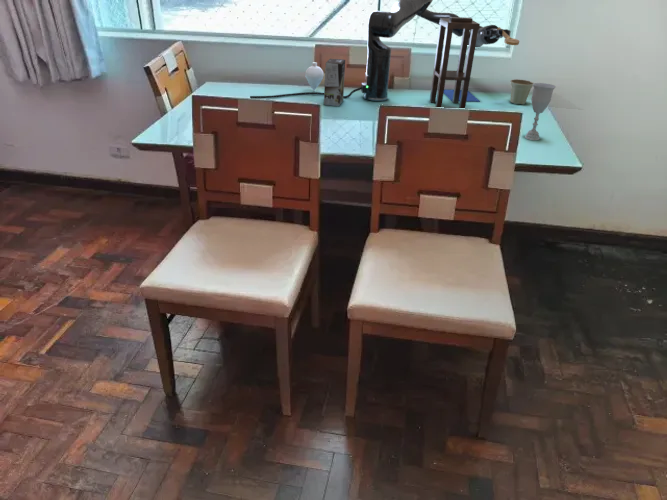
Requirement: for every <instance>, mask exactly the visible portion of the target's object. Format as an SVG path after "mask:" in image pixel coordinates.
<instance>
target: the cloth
mask: <svg viewBox="0 0 667 500" xmlns="http://www.w3.org/2000/svg"><path fill="white" fill-rule="evenodd" d="M461 91H462V89H460V95H459V101H458V102H460V97H461ZM453 94H454V89H444V94H443V95H445V96H446V97H447V98H448V99H449V100H450V101H451V102H452V100H453ZM467 102H470V103H471V102H473V103H480V100H479V98H477V97H476V96H475V95H474V94H473V93H471V92H470V91H469V90H468V94H467V100H466V103H467Z"/></svg>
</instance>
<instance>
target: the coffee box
mask: <svg viewBox="0 0 667 500" xmlns="http://www.w3.org/2000/svg"><path fill="white" fill-rule="evenodd" d="M345 74H346V59H343V58H342V59H341V58H329V59H328V60H327V61H325V68H324V90H323V93H324V95H323V105H324V106H332V107H340V105H341V104H342V103H343V102H344V98H343V96H345V95H344V93H345Z"/></svg>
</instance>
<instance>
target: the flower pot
mask: <svg viewBox="0 0 667 500" xmlns="http://www.w3.org/2000/svg"><path fill="white" fill-rule="evenodd" d="M534 83H535V82H533V81H530V80H526V79H520V78H516V79H511V80H510V86H511V88H510V98H509V102H510V103H511V104H515V105H525V104H526V103H527V100H528V98H529V95H530V92H531V90H532V88H533V84H534Z"/></svg>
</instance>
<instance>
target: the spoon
mask: <svg viewBox="0 0 667 500" xmlns="http://www.w3.org/2000/svg"><path fill="white" fill-rule="evenodd" d="M497 29H498V30H499V29H502V27H500V26H498V28H497ZM502 36H503V37H502V38H504V44H506V45H509V46H518V45H519V44H520V40H518V39H517V38H512V37H511V35H510V36H509V35H508V34H506V33H505V32H504V31H503V32H502Z"/></svg>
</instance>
